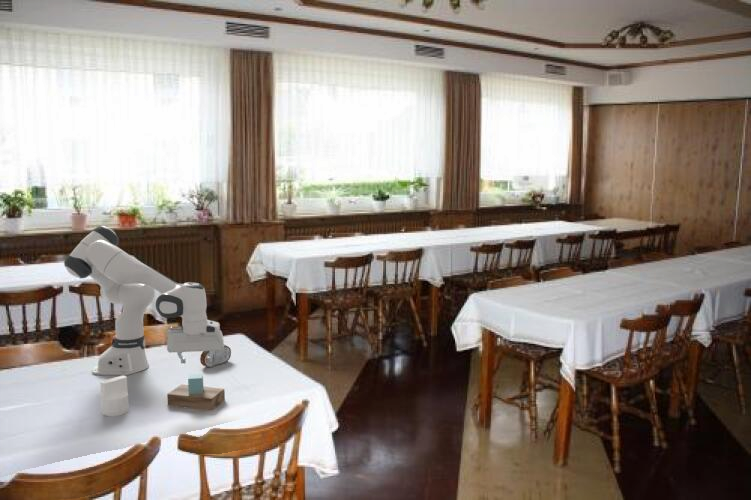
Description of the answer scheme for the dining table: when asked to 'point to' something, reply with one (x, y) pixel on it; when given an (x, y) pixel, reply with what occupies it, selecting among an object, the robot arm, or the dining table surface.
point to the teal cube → (195, 383)
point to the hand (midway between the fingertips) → (196, 362)
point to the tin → (216, 357)
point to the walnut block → (196, 398)
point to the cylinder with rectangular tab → (114, 396)
